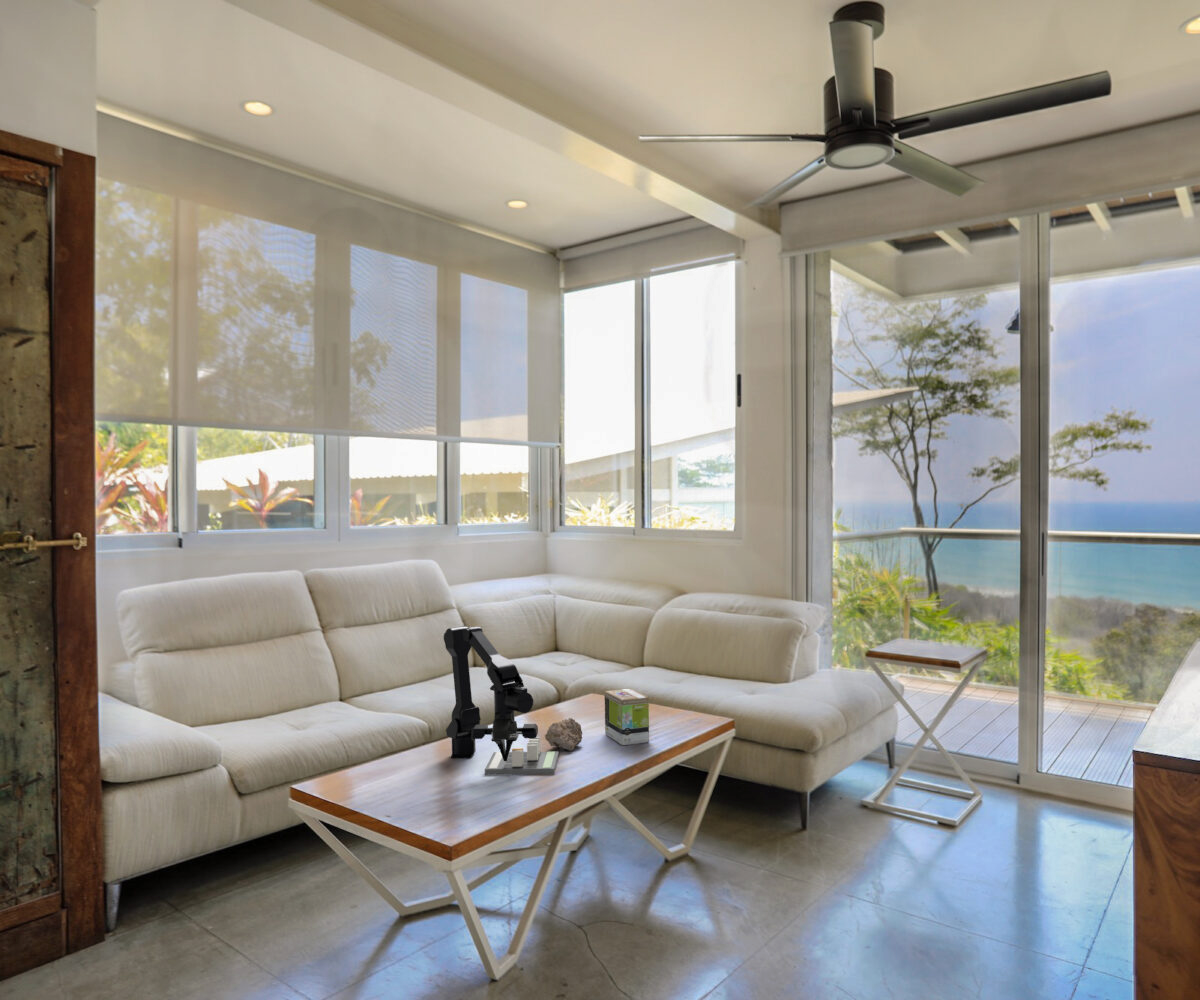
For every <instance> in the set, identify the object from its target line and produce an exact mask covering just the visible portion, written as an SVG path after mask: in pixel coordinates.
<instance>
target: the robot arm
mask: <svg viewBox="0 0 1200 1000" xmlns="http://www.w3.org/2000/svg"><path fill="white" fill-rule="evenodd" d="M443 641H444V646H445V649H446V650H447V651H446V652H448V654H449V656H451V663H452V674H453V675H452V676H453V685H454V687H453V688H454V696H455V705H454V707H453V709H452V712H451V721H450V723H449V724H448V726H447V727H446V729H445V733H446V737H449V738H451V755H450V758H451V759H453V758H454V759H457V758H459V759H460V758H461V759H462V758H463V759H464V758H465V759H466V758H467V759H469V758H473V756H474V754H475V753H476V740H482V739H483V738H484V737H485V736H486V735H487V736H489V735H490V736H491V739H490V740H491V742H495V744H496V745H497V747H498V748H499V752H501V754H502V757H503V760H504V761H507V759H508V755H509V752H511V750H512V745H513V743H514V742H516V741H517V740H518V738H519V736H520V735H521V736H522V737H523V738H524V739H529V738H536V737H538V733H539V726H538V725H537V724H536V723H524V724H523V726H522V727H518V724H517V723H518V722H517V720H515V712H518V713H521V714H527V713H529V712H530V711H531V710H532V708H533V706H534V699H533V696H532V695H531V694H530V693H529V692H528V688H526V687H525V685H524V680H523V679H522V677H521V675H520V672H519V671H518V669H517V666H516V665H515V663H514V662H512V661H511V660H510V659H509V658H506V657H504V656H502V655H501V654H500V652H498V651H497V649H496V648H495V646H494V645H493V644H492V643H491V641H490V640H489V639H488V637H487V636H486V635H485V634H484V631H483V629H482V627H480V626H470V627H469V626H466V625H465V626H458V627H450V628H447V629H446V630H445V632H444V634H443ZM471 649H473V650H474V651H475V652H476V654H477V655H478V656H479V657H480V659H481V661H482V662H483V663H484V664H485V666H486V674H487V676H488V678H489V680H490V682H491V683H492V685H491V686H490V688H489V690H490V691H492V692H493V691H494V692H493V697H494V698H493V701H494V702H493V703H494V707H493V708H494V717H493V718H494V719H493V721H492V727H489V725H488V724H486V723H485V724H481V721H482V719H481V715H480V707H479V706H476V705H475V704H474V702H473V697H472V685H471V677H470V676H471V674H470V665H469V653H470V651H471Z"/></svg>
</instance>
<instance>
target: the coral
mask: <svg viewBox="0 0 1200 1000" xmlns="http://www.w3.org/2000/svg"><path fill="white" fill-rule="evenodd" d="M582 730H583V729H582V726H581V724H580V723H579V722H577V721H576V720H575V719H573V718H571V717H569V718H568V719H566V718H565V719H562V720H561V721H558V722H553V723H552V724H550V725H549V726H548V729H547V732H546V734H544V737H545V741H547V743H548V744H549V745H550V747H557V748H558V747H562V748H563V749H565V750H567V751H569V752H573V751H574V749H575V747H577V746H578V745H580V743H582V740H583V731H582Z"/></svg>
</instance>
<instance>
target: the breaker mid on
mask: <svg viewBox="0 0 1200 1000" xmlns="http://www.w3.org/2000/svg"><path fill="white" fill-rule="evenodd" d="M526 752H527V760H538V742H529V741H528V742H527V744H526Z"/></svg>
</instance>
